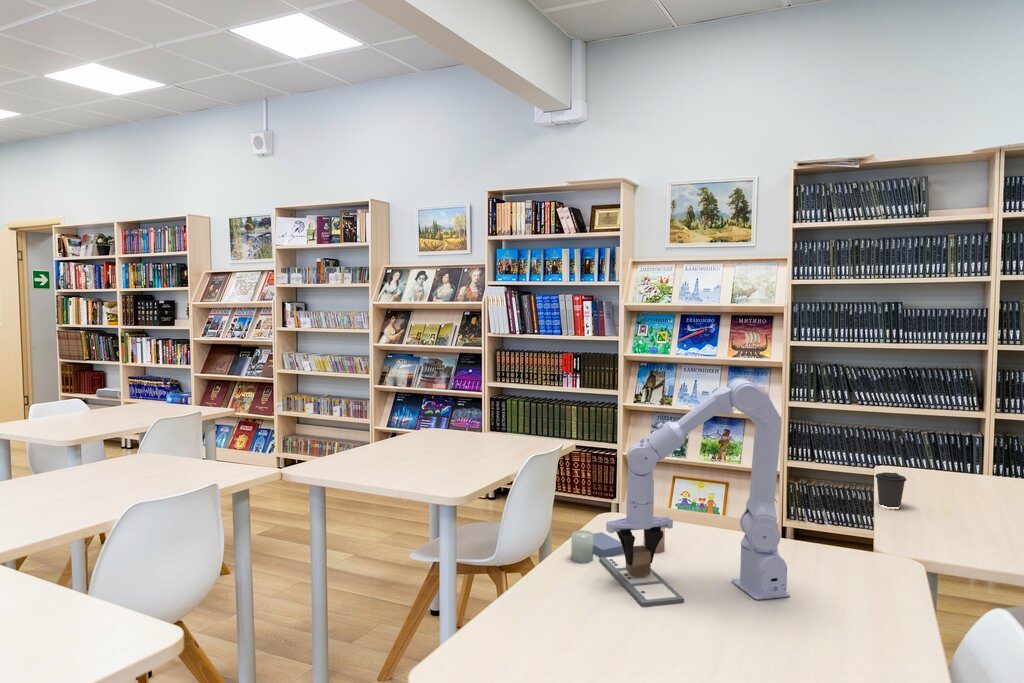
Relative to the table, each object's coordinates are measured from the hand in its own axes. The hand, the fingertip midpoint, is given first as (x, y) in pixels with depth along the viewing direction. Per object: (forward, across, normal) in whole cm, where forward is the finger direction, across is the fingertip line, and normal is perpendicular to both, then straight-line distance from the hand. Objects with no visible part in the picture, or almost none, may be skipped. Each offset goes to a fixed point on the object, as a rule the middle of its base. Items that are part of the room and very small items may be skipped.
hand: (639, 562), depth 146 cm
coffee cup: (+4, -93, -32) cm, 98 cm away
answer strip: (+4, 0, 0) cm, 4 cm away
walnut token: (+2, 0, 0) cm, 2 cm away
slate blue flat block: (+4, +1, -19) cm, 20 cm away
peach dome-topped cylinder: (+4, -11, -16) cm, 20 cm away
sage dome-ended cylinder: (+4, +8, -14) cm, 17 cm away
